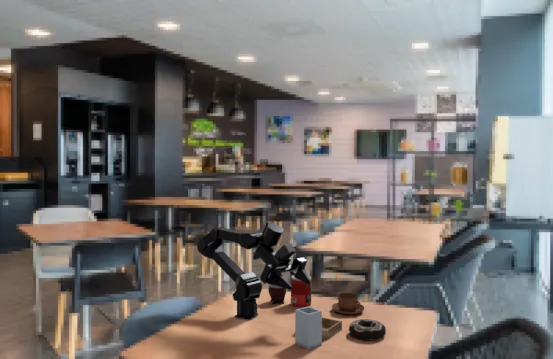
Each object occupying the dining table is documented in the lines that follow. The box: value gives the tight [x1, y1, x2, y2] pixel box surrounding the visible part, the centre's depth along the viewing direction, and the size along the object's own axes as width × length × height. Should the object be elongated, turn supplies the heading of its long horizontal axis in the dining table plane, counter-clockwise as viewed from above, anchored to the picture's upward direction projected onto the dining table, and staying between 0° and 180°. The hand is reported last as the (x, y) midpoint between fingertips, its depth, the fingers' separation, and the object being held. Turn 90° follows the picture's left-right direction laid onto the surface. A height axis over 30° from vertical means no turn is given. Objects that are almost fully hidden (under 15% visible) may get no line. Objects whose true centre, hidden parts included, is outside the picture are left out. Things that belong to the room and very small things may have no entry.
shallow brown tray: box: [322, 316, 343, 341], centre depth 162 cm, size 11×11×3 cm
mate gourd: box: [268, 284, 287, 305], centre depth 195 cm, size 8×8×15 cm
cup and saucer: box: [331, 292, 365, 315], centre depth 184 cm, size 12×12×6 cm
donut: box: [348, 318, 387, 341], centre depth 159 cm, size 12×12×4 cm
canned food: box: [290, 274, 312, 308], centre depth 192 cm, size 8×8×11 cm
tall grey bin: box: [294, 306, 323, 350], centre depth 151 cm, size 6×6×10 cm
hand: (301, 285), depth 159 cm, fingers open, 9 cm apart
